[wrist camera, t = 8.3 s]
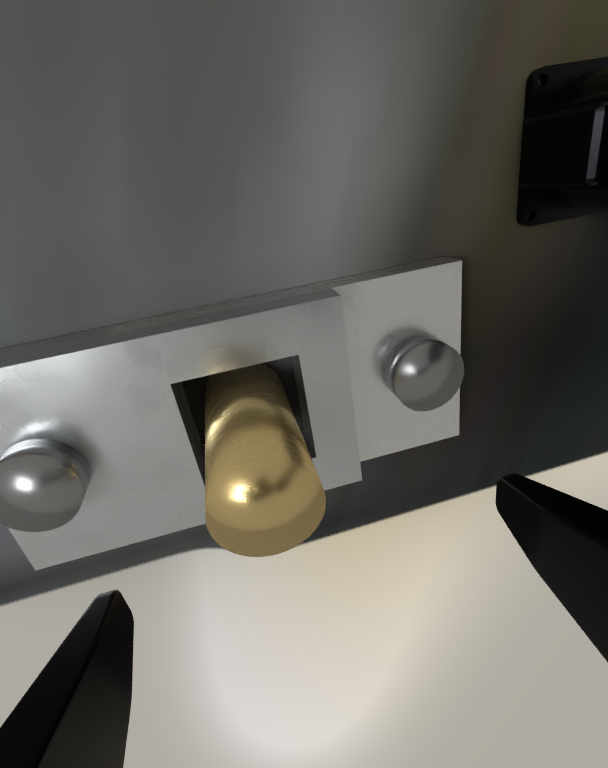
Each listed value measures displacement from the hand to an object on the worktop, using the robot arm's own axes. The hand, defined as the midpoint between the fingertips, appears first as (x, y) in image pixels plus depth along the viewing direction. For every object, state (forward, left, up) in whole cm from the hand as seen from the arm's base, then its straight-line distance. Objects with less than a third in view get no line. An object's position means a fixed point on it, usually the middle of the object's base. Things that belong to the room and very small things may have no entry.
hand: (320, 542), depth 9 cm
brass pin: (+1, +2, -13) cm, 13 cm away
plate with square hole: (+1, +2, -13) cm, 13 cm away
